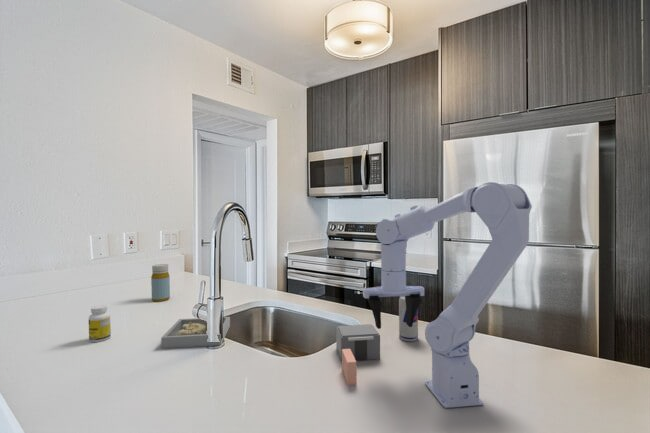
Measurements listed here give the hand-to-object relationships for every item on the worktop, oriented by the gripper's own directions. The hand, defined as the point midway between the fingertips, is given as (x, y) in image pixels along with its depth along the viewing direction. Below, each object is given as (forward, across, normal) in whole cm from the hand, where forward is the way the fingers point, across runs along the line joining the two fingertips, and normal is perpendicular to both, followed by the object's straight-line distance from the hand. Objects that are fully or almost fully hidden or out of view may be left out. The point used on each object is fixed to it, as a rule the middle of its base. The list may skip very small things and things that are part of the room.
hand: (393, 326), depth 80 cm
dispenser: (+10, +7, -9) cm, 15 cm away
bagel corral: (+10, +52, -28) cm, 60 cm away
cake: (+10, +54, -27) cm, 61 cm away
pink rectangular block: (+10, +12, +3) cm, 15 cm away
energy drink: (+10, -10, -17) cm, 22 cm away
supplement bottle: (+10, +81, -30) cm, 87 cm away
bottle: (+10, +79, -74) cm, 109 cm away
